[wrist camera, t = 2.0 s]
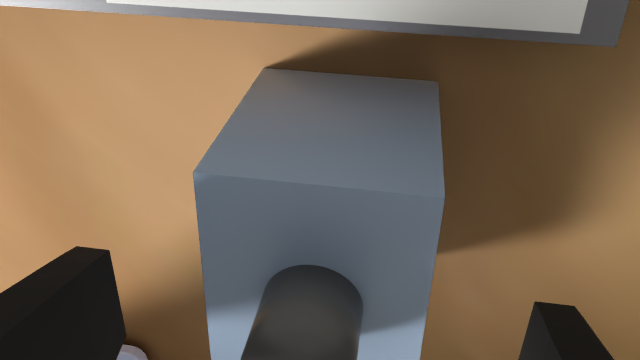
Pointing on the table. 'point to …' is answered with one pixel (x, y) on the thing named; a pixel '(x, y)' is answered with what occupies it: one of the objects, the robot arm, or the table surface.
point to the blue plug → (322, 218)
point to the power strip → (394, 15)
